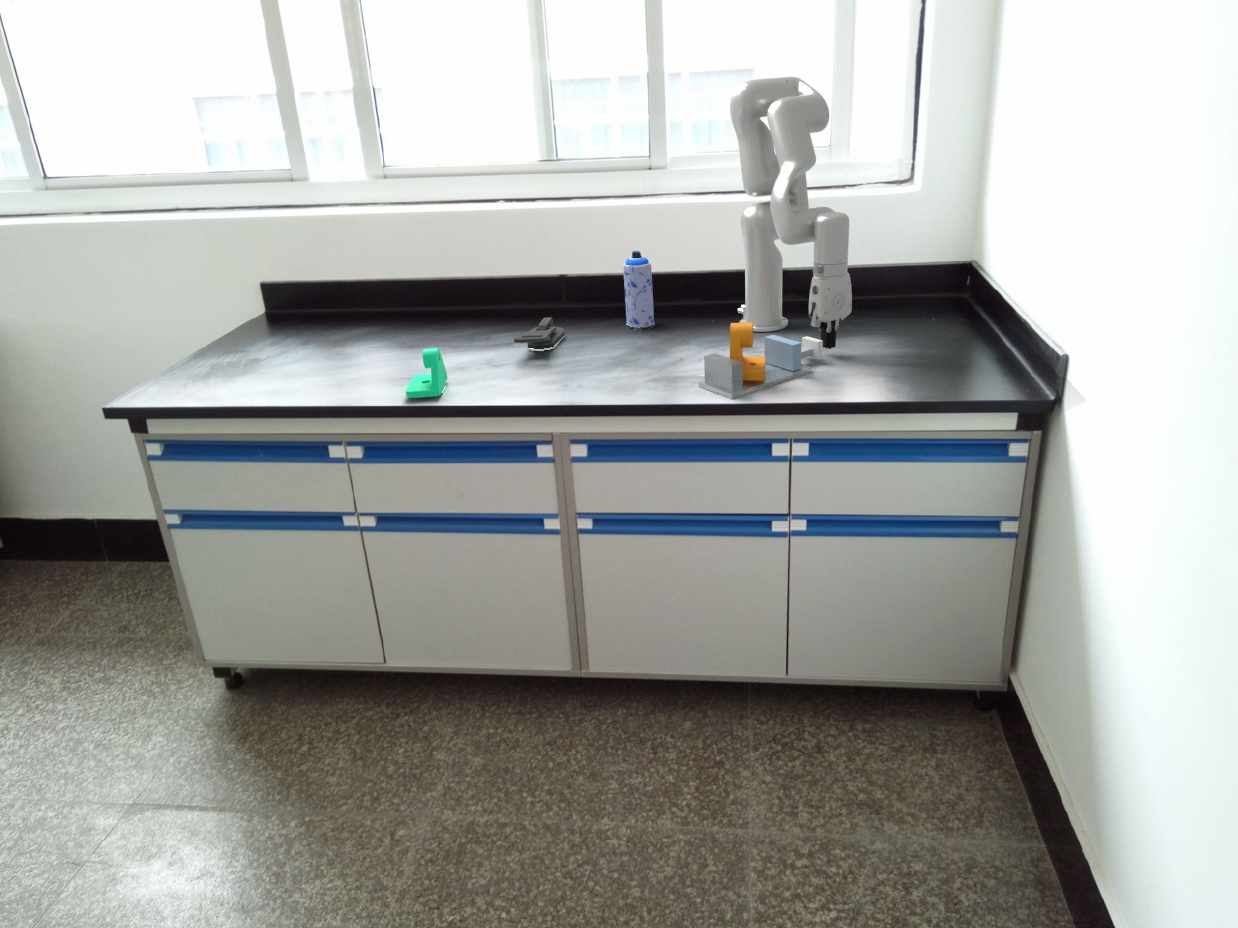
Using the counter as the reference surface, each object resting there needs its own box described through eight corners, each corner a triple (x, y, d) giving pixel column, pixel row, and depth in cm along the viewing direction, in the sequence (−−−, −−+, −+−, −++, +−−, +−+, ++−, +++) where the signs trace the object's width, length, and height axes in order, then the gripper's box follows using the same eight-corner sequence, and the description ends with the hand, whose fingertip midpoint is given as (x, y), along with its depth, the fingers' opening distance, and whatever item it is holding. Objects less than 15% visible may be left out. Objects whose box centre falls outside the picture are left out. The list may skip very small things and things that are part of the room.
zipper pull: (510, 339, 221) (532, 311, 243) (513, 365, 223) (534, 335, 246) (546, 338, 219) (564, 310, 242) (549, 364, 222) (567, 334, 244)
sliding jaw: (764, 362, 209) (764, 337, 206) (800, 350, 215) (800, 326, 212) (792, 371, 202) (793, 345, 200) (828, 359, 208) (829, 333, 205)
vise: (698, 386, 201) (697, 356, 198) (777, 361, 213) (777, 332, 210) (731, 399, 192) (731, 367, 189) (811, 372, 204) (812, 342, 201)
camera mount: (415, 384, 215) (408, 343, 211) (448, 382, 215) (441, 340, 211) (406, 402, 204) (399, 359, 200) (440, 400, 204) (433, 356, 200)
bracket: (763, 384, 196) (763, 330, 191) (729, 384, 198) (728, 330, 193) (765, 367, 206) (765, 316, 201) (733, 367, 207) (732, 316, 202)
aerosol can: (628, 321, 251) (623, 249, 243) (656, 321, 250) (652, 248, 242) (624, 329, 244) (619, 255, 236) (653, 329, 243) (649, 254, 235)
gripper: (820, 278, 199) (817, 357, 206) (865, 265, 206) (861, 343, 214) (794, 273, 204) (793, 351, 212) (840, 261, 212) (837, 336, 220)
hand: (828, 346), depth 213 cm, fingers closed
